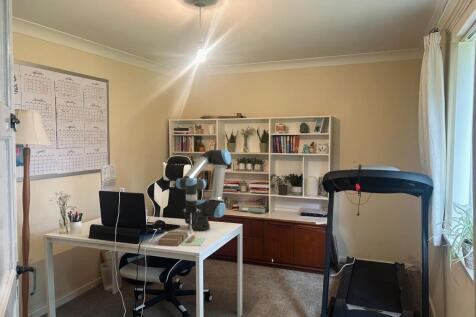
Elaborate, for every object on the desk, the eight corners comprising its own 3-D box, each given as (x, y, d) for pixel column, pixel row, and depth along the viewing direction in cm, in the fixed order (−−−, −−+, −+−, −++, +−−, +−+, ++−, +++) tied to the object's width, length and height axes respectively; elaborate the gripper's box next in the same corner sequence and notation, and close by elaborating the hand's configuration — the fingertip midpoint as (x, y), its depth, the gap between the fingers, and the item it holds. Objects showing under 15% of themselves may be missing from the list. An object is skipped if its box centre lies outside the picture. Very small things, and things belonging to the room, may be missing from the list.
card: (197, 232, 248) (198, 234, 248) (190, 236, 249) (192, 239, 249) (193, 235, 239) (195, 238, 239) (187, 240, 240) (188, 242, 240)
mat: (188, 237, 254) (188, 237, 254) (207, 238, 252) (207, 237, 252) (180, 245, 237) (180, 244, 236) (200, 245, 234) (200, 245, 234)
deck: (169, 236, 258) (169, 230, 258) (187, 236, 256) (187, 231, 256) (158, 245, 237) (158, 239, 237) (178, 245, 235) (178, 240, 234)
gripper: (180, 200, 240) (180, 234, 241) (198, 201, 238) (198, 235, 239) (184, 198, 248) (183, 231, 249) (201, 199, 245) (201, 232, 247)
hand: (191, 233), depth 244 cm, fingers closed
